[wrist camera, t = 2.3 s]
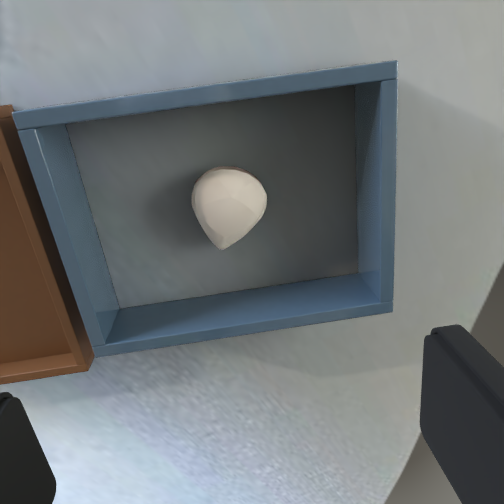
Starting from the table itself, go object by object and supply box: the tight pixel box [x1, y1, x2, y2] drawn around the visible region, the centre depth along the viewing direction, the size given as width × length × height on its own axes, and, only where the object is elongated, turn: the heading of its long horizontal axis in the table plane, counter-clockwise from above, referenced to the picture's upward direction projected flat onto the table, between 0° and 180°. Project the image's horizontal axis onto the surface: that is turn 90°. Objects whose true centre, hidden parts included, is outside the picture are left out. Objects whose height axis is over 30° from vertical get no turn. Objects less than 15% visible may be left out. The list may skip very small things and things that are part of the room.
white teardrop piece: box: [192, 166, 267, 250], centre depth 23 cm, size 4×5×2 cm
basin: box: [12, 60, 398, 358], centre depth 23 cm, size 14×18×4 cm
